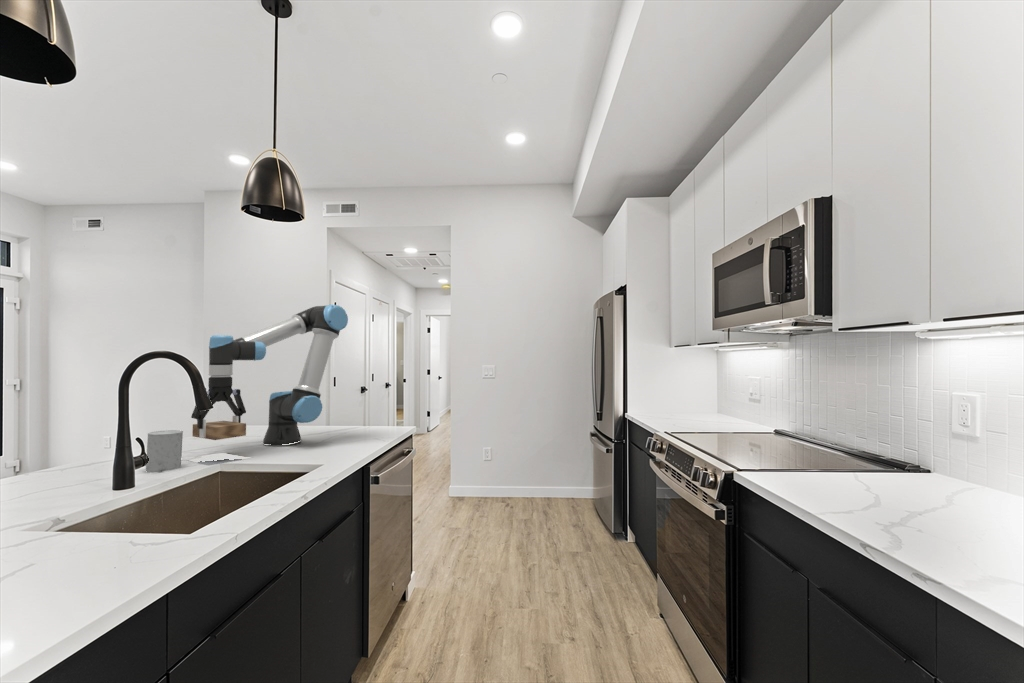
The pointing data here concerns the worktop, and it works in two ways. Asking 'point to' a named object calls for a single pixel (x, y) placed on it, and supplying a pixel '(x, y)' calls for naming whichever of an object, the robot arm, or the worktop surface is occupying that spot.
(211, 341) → the robot arm
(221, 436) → the board
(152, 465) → the grey speckled cylinder
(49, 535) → the worktop surface
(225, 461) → the mat
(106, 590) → the worktop surface
